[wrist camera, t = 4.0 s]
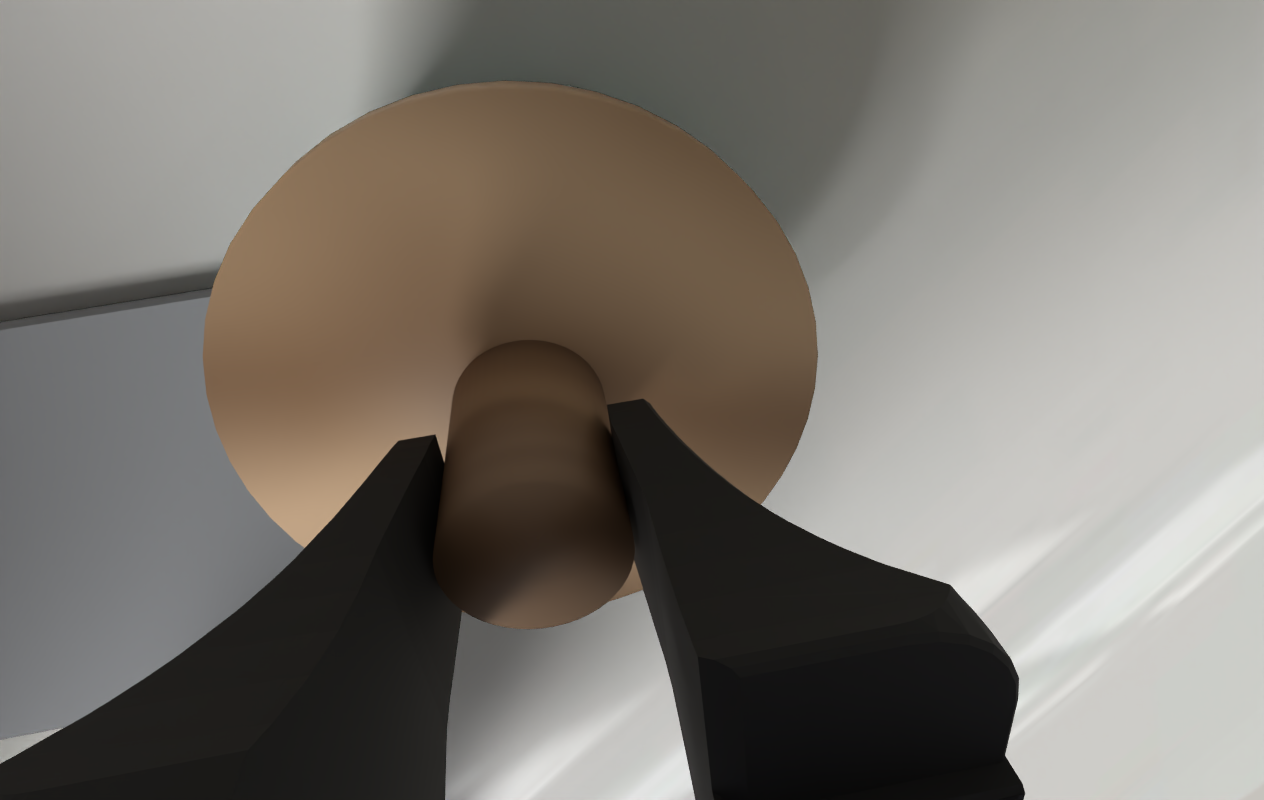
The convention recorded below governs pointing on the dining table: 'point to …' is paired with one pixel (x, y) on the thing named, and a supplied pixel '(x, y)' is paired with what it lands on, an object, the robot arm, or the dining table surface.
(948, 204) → the dining table surface
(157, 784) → the robot arm
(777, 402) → the lid
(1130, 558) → the dining table surface
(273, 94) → the dining table surface
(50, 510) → the mat
